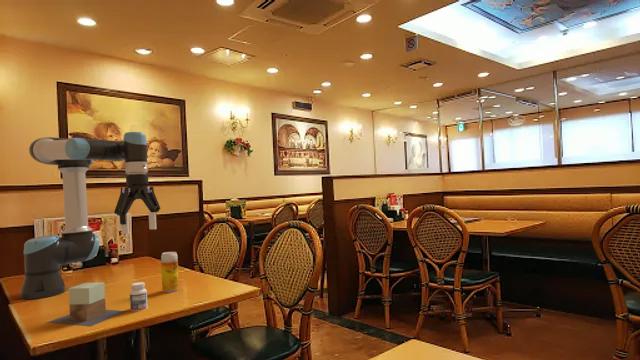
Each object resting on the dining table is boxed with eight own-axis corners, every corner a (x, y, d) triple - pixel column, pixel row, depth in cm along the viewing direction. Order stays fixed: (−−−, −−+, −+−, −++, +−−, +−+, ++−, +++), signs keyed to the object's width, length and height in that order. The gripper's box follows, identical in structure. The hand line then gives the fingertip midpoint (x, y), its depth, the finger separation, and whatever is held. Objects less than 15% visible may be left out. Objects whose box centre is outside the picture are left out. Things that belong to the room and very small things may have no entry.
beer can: (173, 292, 151) (171, 254, 151) (159, 292, 152) (157, 254, 152) (181, 288, 157) (180, 251, 157) (168, 288, 158) (166, 251, 158)
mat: (46, 323, 121) (46, 322, 121) (86, 309, 134) (86, 308, 134) (90, 327, 115) (90, 326, 115) (127, 312, 128) (127, 311, 128)
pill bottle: (134, 308, 133) (133, 282, 133) (150, 306, 134) (148, 281, 134) (127, 313, 128) (126, 286, 128) (144, 311, 128) (143, 284, 128)
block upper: (69, 304, 122) (68, 288, 122) (85, 297, 129) (85, 282, 129) (89, 304, 121) (88, 288, 121) (105, 297, 128) (104, 282, 128)
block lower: (69, 319, 122) (69, 303, 122) (89, 312, 129) (88, 297, 129) (86, 321, 120) (86, 304, 120) (105, 313, 127) (105, 298, 127)
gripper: (118, 172, 131) (121, 235, 130) (168, 174, 155) (170, 227, 154) (100, 174, 133) (103, 236, 133) (152, 175, 157) (155, 227, 156)
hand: (139, 231), depth 143 cm, fingers open, 13 cm apart
